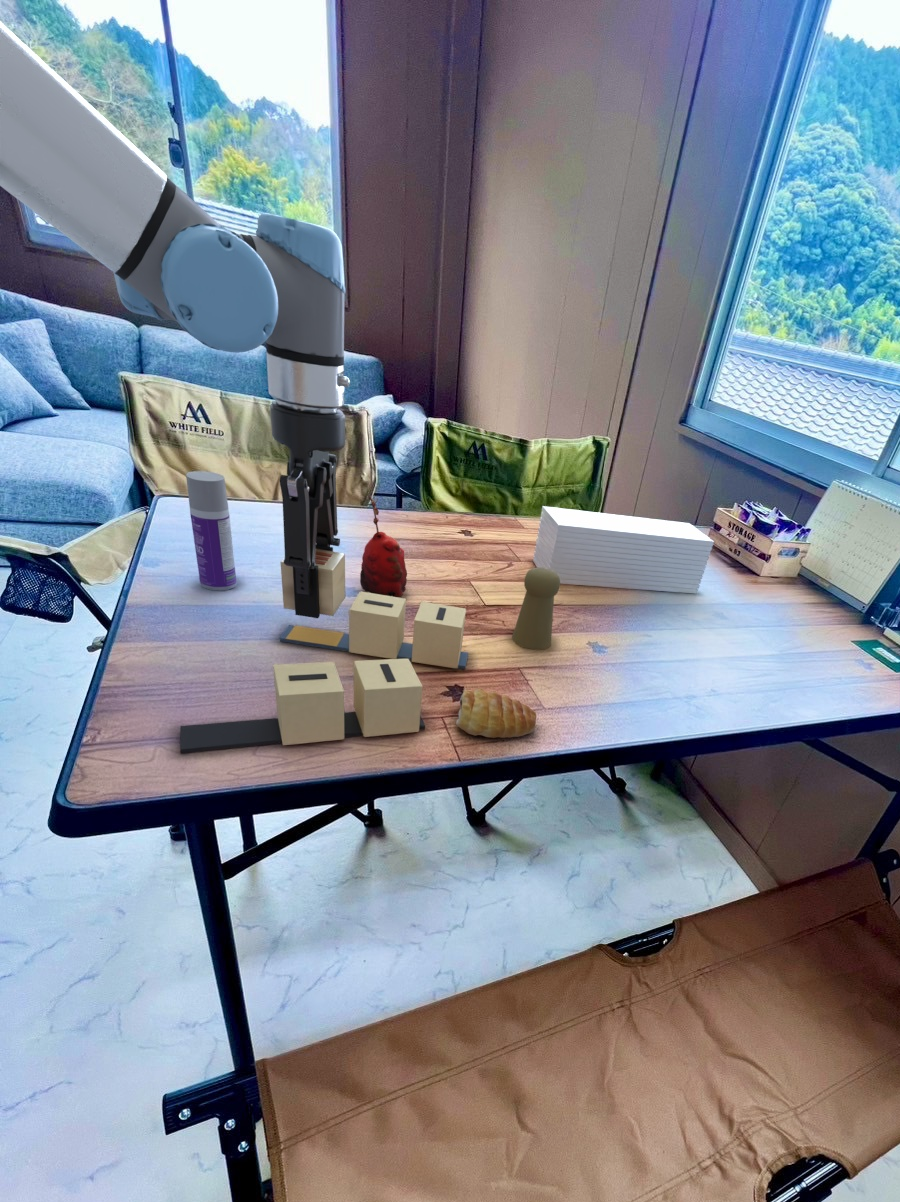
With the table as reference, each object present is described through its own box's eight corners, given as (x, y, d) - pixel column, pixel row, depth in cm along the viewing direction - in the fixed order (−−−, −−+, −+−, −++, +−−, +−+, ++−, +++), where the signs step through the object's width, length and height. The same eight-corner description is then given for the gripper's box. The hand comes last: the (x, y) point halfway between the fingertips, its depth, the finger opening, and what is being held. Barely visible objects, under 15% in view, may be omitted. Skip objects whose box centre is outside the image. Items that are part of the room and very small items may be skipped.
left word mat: (180, 759, 59) (169, 701, 55) (181, 724, 63) (170, 668, 59) (427, 734, 70) (432, 684, 66) (413, 705, 74) (417, 656, 70)
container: (192, 585, 88) (176, 475, 79) (213, 574, 92) (199, 468, 83) (224, 593, 88) (211, 483, 79) (243, 582, 92) (232, 476, 83)
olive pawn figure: (558, 642, 95) (573, 573, 89) (537, 653, 91) (551, 582, 85) (526, 627, 97) (538, 559, 91) (504, 638, 93) (515, 567, 87)
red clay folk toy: (413, 599, 98) (419, 502, 89) (370, 602, 94) (372, 502, 86) (394, 580, 103) (398, 486, 94) (352, 582, 99) (352, 485, 90)
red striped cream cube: (283, 608, 76) (280, 560, 73) (298, 590, 81) (296, 544, 78) (333, 616, 77) (332, 569, 74) (345, 597, 82) (345, 552, 79)
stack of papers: (674, 573, 133) (689, 523, 127) (696, 593, 125) (714, 541, 119) (532, 561, 123) (542, 505, 117) (547, 582, 115) (558, 524, 109)
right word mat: (276, 644, 79) (273, 596, 75) (291, 624, 84) (289, 578, 80) (464, 673, 82) (470, 628, 79) (468, 652, 87) (473, 609, 83)
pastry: (532, 713, 77) (537, 687, 75) (536, 745, 72) (542, 719, 70) (456, 705, 76) (459, 678, 73) (455, 738, 70) (458, 710, 68)
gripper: (319, 426, 59) (325, 642, 72) (363, 400, 75) (362, 582, 88) (236, 410, 58) (258, 632, 71) (299, 387, 74) (307, 573, 87)
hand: (315, 604), depth 79 cm, fingers closed on red striped cream cube, 6 cm apart
